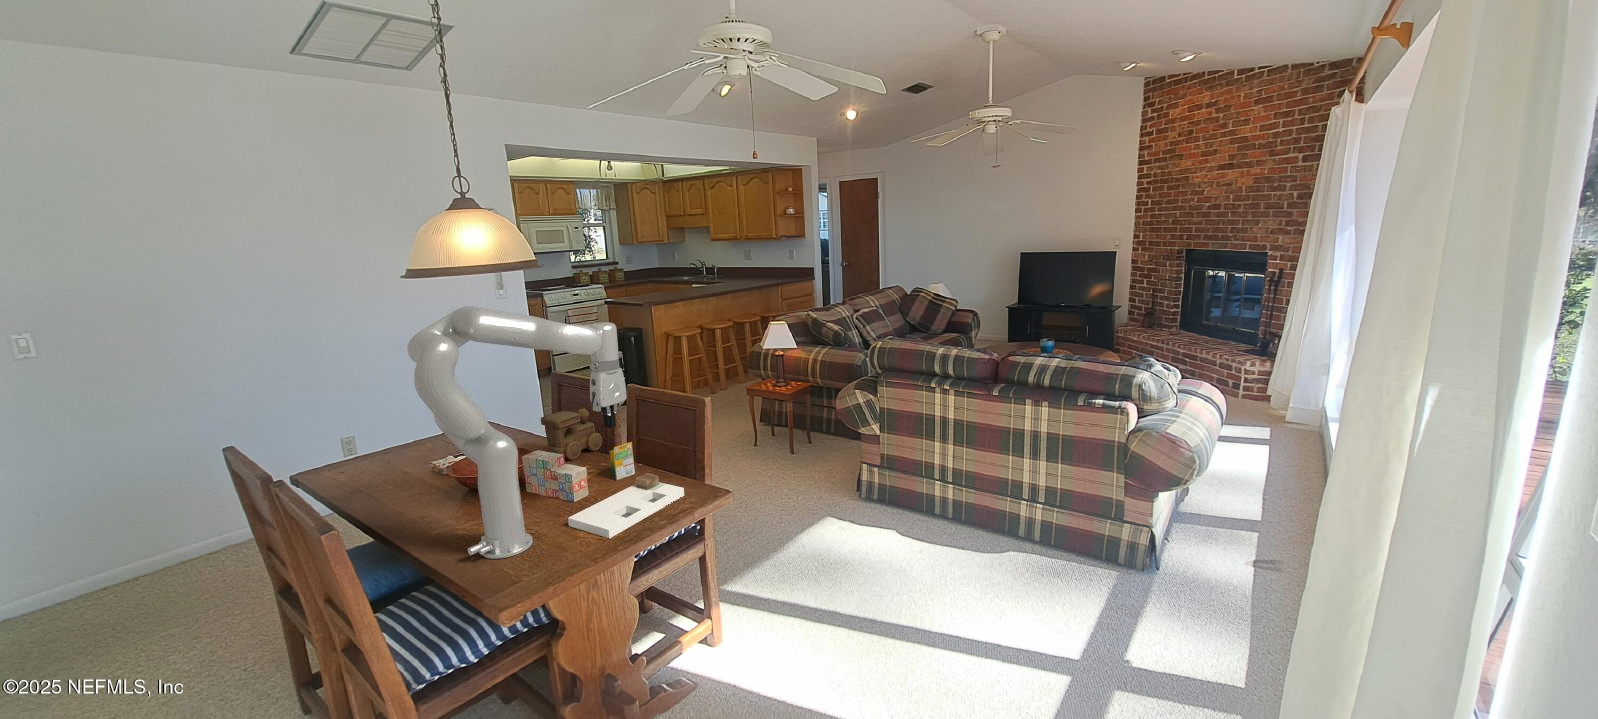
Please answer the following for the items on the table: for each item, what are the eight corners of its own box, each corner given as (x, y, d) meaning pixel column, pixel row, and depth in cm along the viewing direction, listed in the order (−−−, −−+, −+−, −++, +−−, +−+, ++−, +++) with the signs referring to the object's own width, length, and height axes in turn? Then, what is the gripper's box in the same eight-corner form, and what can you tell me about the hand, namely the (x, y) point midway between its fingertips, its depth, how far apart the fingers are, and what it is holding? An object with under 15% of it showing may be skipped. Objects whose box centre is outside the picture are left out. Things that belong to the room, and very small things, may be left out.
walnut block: (647, 490, 193) (646, 481, 193) (635, 487, 196) (635, 478, 195) (658, 484, 198) (658, 475, 197) (647, 481, 200) (646, 472, 200)
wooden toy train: (565, 465, 224) (560, 420, 220) (543, 460, 229) (538, 416, 226) (606, 447, 241) (602, 406, 237) (585, 443, 246) (581, 402, 243)
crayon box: (630, 471, 215) (627, 439, 213) (635, 474, 214) (632, 441, 211) (611, 478, 210) (608, 445, 208) (616, 480, 208) (613, 447, 206)
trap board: (609, 538, 169) (608, 529, 168) (568, 525, 177) (567, 517, 176) (684, 495, 195) (683, 487, 195) (646, 486, 203) (645, 478, 202)
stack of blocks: (589, 495, 198) (585, 458, 195) (574, 503, 192) (570, 465, 190) (541, 484, 207) (537, 449, 205) (525, 491, 202) (521, 455, 199)
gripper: (594, 371, 171) (599, 435, 175) (634, 362, 184) (638, 422, 188) (575, 369, 175) (581, 432, 179) (615, 360, 188) (620, 418, 191)
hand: (610, 426), depth 183 cm, fingers closed
